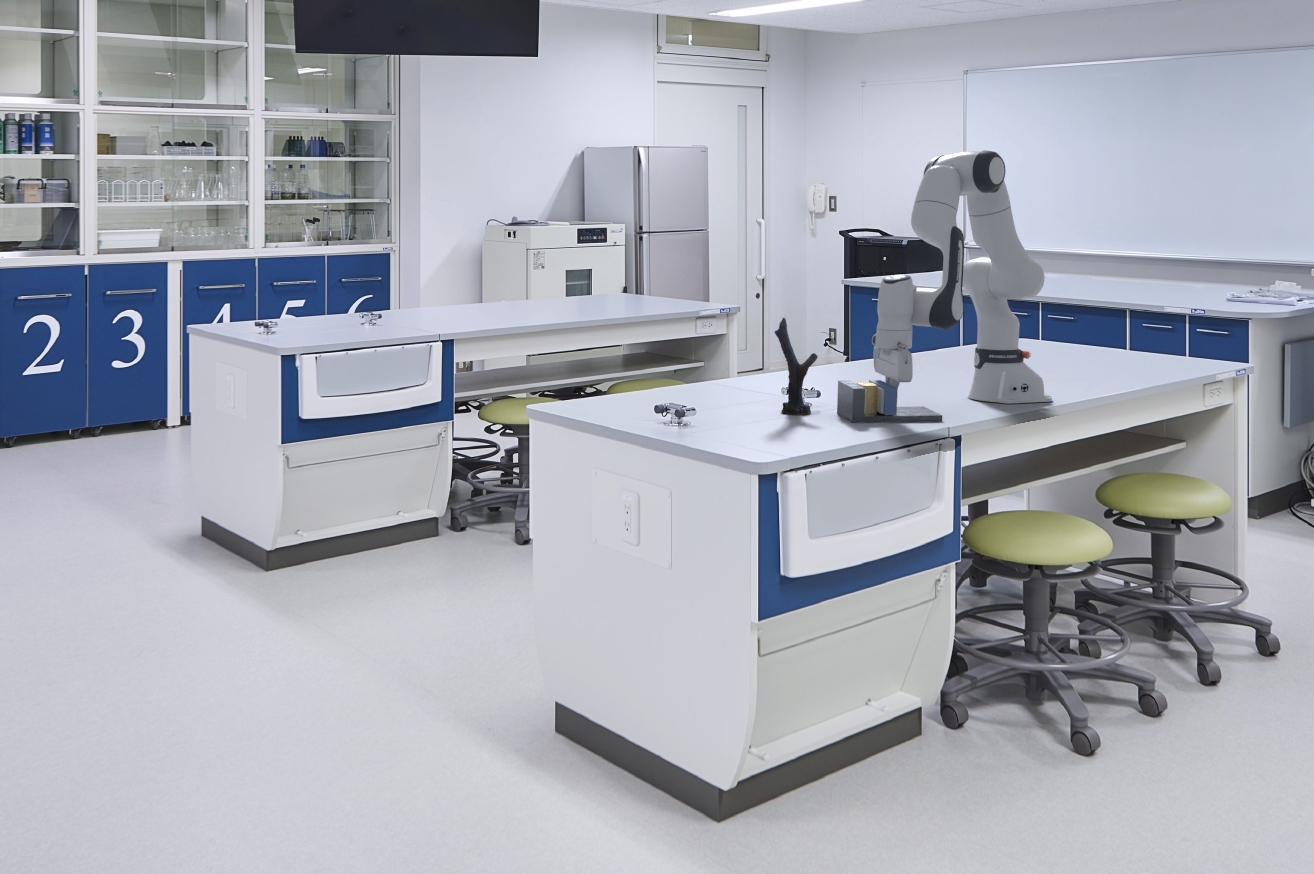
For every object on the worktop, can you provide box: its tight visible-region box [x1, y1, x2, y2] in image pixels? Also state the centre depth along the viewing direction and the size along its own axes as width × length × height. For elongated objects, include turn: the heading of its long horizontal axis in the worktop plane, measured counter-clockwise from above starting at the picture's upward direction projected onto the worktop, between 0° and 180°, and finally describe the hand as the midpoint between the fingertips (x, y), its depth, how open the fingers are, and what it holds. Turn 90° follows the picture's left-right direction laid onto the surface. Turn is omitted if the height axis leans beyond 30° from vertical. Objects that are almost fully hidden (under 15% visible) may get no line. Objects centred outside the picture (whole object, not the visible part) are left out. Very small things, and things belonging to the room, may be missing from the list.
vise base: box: [836, 379, 943, 424], centre depth 303 cm, size 23×14×8 cm, turn 97°
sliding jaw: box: [868, 379, 899, 415], centre depth 303 cm, size 4×14×7 cm, turn 7°
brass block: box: [856, 382, 878, 413], centre depth 302 cm, size 4×5×7 cm
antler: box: [774, 317, 819, 416], centre depth 306 cm, size 12×8×25 cm
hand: (891, 395), depth 303 cm, fingers closed, pressing on sliding jaw
